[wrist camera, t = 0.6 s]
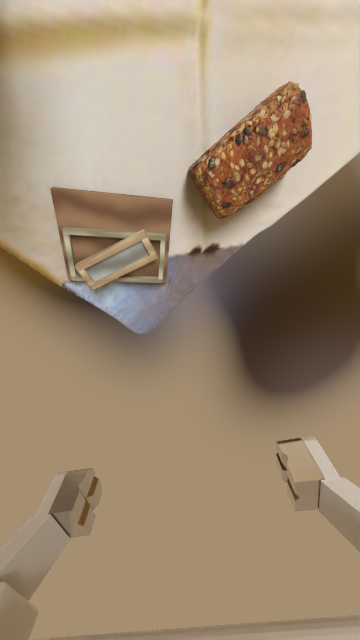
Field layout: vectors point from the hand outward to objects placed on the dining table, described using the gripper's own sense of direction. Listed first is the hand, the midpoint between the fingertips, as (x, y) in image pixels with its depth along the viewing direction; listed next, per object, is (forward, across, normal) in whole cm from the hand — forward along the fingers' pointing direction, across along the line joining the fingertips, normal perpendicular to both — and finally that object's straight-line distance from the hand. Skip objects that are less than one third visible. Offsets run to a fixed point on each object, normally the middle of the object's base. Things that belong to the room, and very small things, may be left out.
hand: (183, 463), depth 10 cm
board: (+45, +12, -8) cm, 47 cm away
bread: (+46, -15, -17) cm, 51 cm away
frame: (+43, +13, -5) cm, 45 cm away
